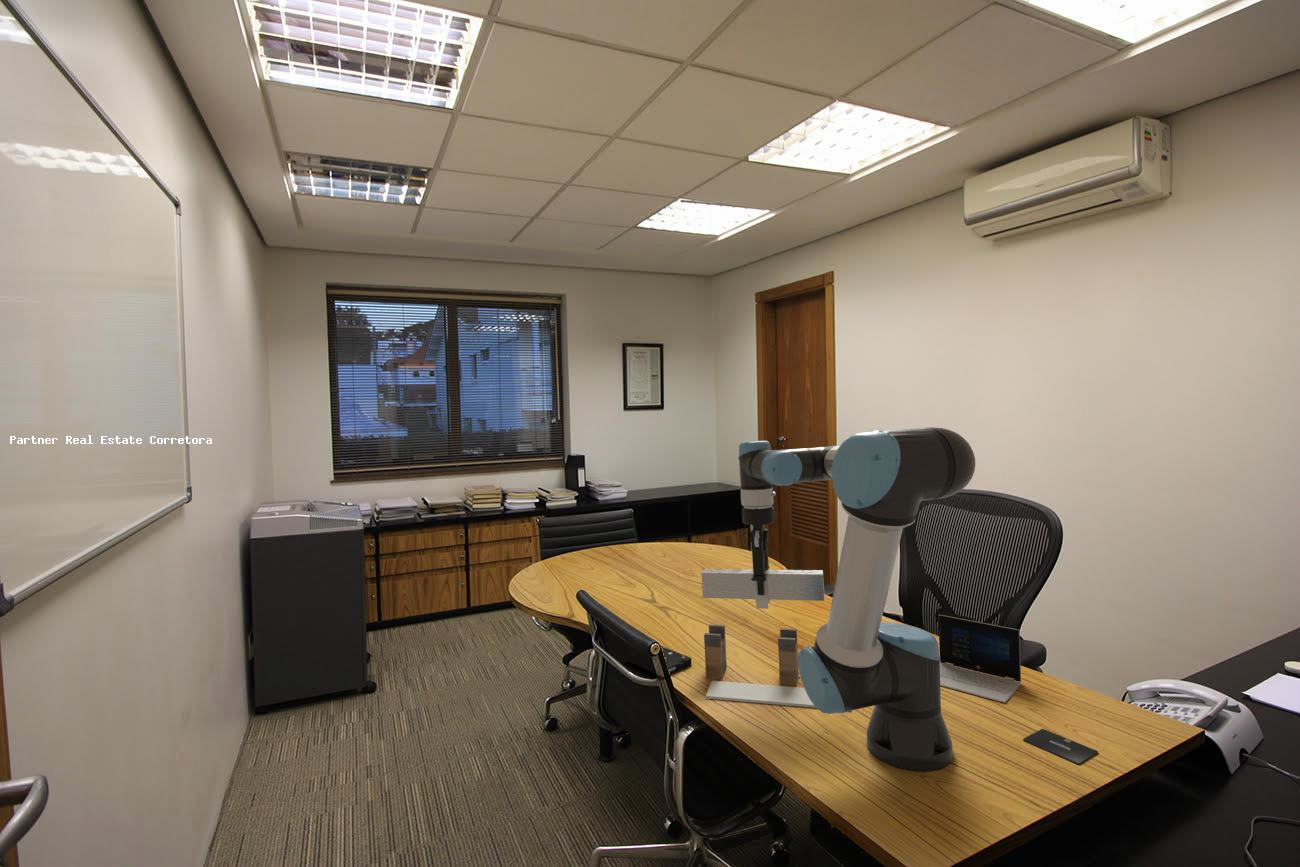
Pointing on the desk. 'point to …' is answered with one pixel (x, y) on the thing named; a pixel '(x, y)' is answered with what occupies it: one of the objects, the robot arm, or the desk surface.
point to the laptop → (979, 658)
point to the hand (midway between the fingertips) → (763, 604)
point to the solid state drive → (1061, 746)
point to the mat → (759, 694)
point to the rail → (778, 584)
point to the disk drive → (676, 660)
